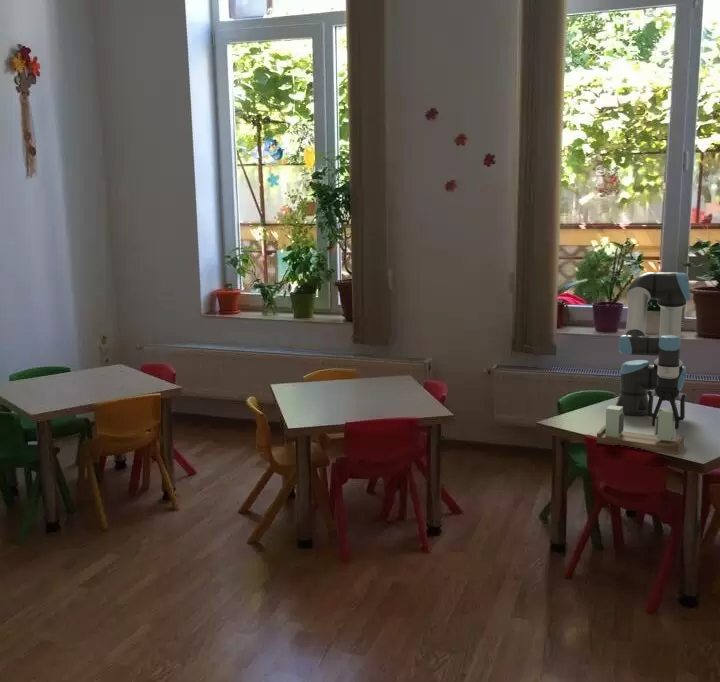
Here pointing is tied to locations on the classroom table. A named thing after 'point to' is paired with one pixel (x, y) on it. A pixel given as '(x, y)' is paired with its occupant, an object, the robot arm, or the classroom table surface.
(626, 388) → the robot arm
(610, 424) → the fixed block
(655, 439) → the rail
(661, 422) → the block
